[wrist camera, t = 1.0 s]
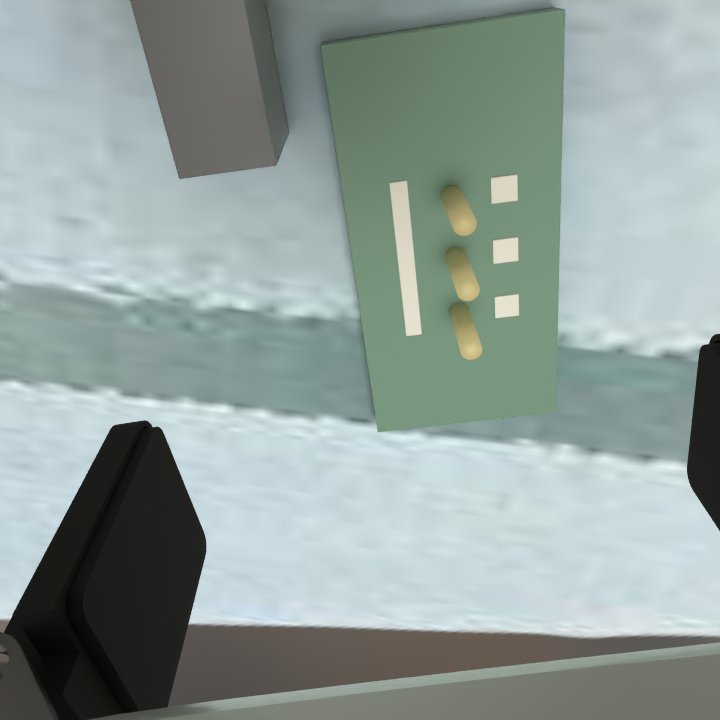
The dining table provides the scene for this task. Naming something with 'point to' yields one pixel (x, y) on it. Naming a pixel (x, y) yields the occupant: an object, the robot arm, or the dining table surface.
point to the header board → (454, 212)
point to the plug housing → (214, 82)
